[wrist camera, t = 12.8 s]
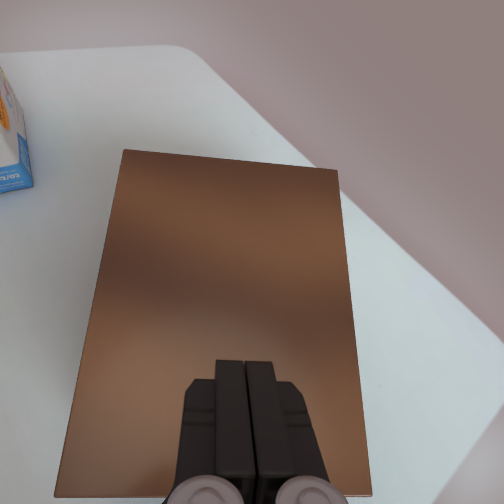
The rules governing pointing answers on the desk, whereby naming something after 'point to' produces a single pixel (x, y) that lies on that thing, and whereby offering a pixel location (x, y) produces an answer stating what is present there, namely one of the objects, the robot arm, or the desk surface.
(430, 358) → the desk surface
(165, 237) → the lid
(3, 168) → the ink box
